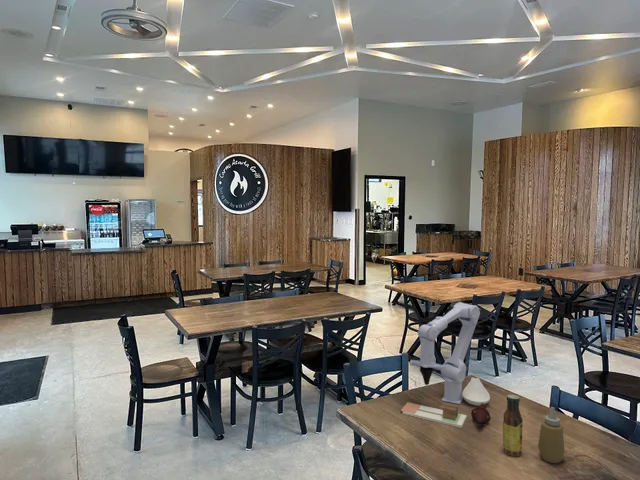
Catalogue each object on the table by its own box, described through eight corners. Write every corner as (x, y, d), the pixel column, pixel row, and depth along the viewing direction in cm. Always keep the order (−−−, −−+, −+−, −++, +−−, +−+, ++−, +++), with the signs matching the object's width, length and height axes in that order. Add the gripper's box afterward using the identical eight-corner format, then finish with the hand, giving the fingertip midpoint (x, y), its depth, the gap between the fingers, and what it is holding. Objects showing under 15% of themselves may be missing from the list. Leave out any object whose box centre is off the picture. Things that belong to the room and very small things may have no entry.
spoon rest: (491, 410, 184) (491, 394, 184) (462, 407, 188) (462, 391, 187) (486, 389, 207) (487, 374, 207) (461, 386, 210) (461, 372, 210)
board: (407, 404, 190) (407, 401, 190) (466, 417, 177) (466, 414, 177) (400, 413, 181) (400, 410, 181) (461, 428, 169) (461, 425, 169)
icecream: (492, 417, 164) (493, 405, 178) (472, 409, 167) (475, 397, 181) (486, 434, 164) (488, 421, 178) (467, 425, 167) (470, 413, 181)
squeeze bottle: (540, 449, 153) (542, 400, 152) (566, 458, 148) (568, 406, 147) (535, 459, 147) (536, 408, 146) (561, 468, 142) (563, 415, 141)
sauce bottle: (524, 458, 148) (525, 401, 147) (504, 456, 149) (506, 400, 148) (519, 448, 154) (520, 393, 153) (500, 446, 155) (502, 392, 154)
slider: (445, 412, 179) (445, 402, 179) (457, 415, 177) (458, 405, 176) (442, 417, 175) (442, 407, 175) (455, 420, 172) (455, 410, 172)
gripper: (408, 353, 185) (407, 383, 186) (442, 358, 178) (441, 390, 179) (413, 348, 191) (412, 378, 192) (446, 353, 184) (445, 384, 185)
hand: (426, 384), depth 186 cm, fingers closed
